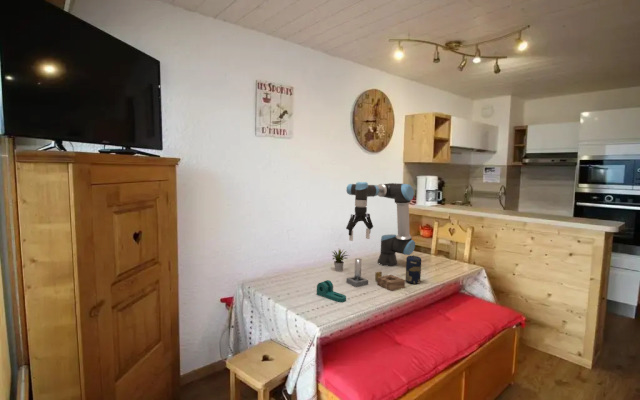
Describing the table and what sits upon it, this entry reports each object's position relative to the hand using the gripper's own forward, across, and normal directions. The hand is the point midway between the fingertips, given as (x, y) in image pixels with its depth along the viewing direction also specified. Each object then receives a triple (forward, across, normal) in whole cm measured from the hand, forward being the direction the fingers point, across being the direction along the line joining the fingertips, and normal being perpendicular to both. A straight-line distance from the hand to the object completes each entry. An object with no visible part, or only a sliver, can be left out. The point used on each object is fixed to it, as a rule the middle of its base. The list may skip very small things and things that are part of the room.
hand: (359, 239), depth 209 cm
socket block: (+29, +16, -14) cm, 36 cm away
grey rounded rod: (+29, 0, 0) cm, 29 cm away
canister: (+29, +34, -15) cm, 48 cm away
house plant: (+29, +4, +28) cm, 40 cm away
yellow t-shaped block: (+28, +15, -6) cm, 33 cm away
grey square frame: (+29, 0, 0) cm, 29 cm away
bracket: (+29, -28, -11) cm, 42 cm away
